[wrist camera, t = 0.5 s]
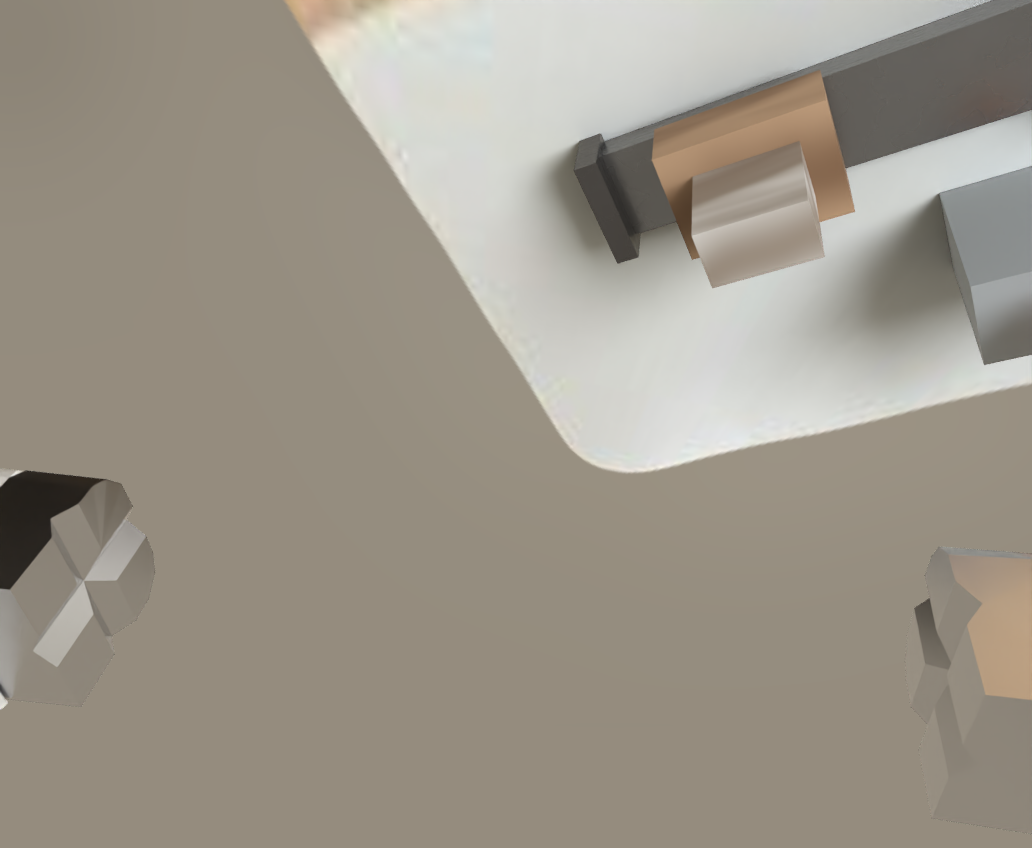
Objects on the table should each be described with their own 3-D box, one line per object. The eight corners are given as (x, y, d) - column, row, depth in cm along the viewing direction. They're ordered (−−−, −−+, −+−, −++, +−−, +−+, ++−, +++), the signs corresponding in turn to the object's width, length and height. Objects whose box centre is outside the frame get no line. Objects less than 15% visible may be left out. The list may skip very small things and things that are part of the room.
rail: (579, 141, 48) (573, 170, 46) (1116, -57, 38) (1139, -31, 36) (621, 232, 51) (617, 263, 49) (1120, 73, 42) (1142, 104, 39)
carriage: (654, 129, 45) (647, 218, 39) (820, 69, 42) (837, 157, 36) (692, 227, 49) (691, 321, 43) (848, 178, 45) (867, 273, 40)
